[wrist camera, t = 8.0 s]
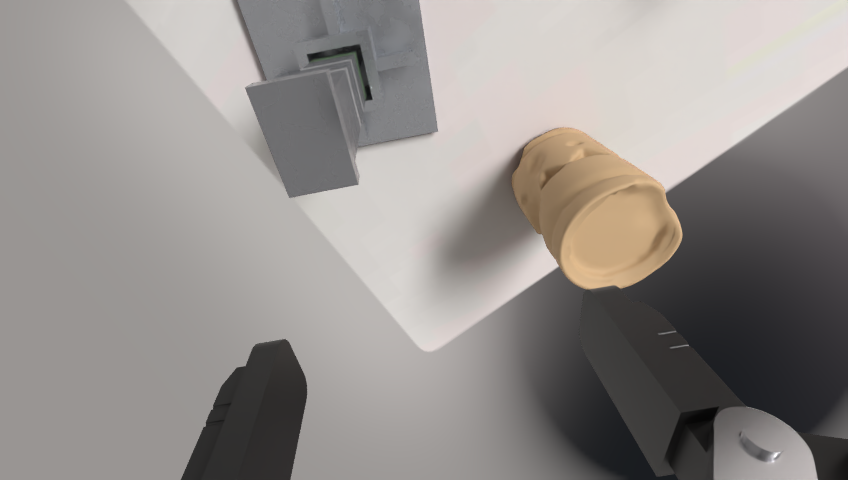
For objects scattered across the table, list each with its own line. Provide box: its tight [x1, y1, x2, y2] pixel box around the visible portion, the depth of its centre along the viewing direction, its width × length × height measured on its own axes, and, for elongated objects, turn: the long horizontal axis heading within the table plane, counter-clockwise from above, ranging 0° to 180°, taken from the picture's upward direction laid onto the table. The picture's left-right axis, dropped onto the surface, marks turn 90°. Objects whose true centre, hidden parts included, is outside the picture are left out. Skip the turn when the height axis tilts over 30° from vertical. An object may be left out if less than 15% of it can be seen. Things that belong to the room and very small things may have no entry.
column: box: [245, 50, 367, 198], centre depth 28 cm, size 6×4×20 cm, turn 9°
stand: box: [237, 0, 438, 147], centre depth 39 cm, size 18×18×9 cm
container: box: [512, 128, 682, 290], centre depth 44 cm, size 13×13×18 cm
